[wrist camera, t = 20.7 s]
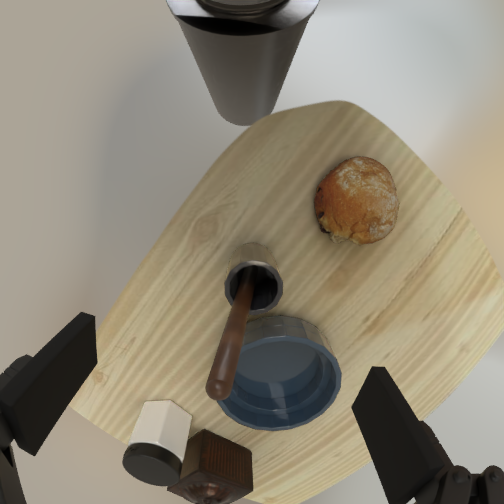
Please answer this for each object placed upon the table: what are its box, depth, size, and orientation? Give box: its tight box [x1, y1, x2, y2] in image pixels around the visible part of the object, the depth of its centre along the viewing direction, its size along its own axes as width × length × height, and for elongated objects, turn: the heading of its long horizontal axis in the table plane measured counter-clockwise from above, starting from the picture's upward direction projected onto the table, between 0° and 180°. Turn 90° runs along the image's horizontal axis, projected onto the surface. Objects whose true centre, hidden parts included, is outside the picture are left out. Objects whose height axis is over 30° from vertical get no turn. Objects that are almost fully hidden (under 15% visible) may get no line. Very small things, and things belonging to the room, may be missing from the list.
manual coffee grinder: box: [167, 429, 253, 504], centre depth 35 cm, size 16×11×18 cm
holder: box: [225, 243, 283, 315], centre depth 31 cm, size 5×6×8 cm
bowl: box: [217, 315, 342, 431], centre depth 36 cm, size 15×15×6 cm
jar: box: [123, 400, 192, 486], centre depth 35 cm, size 9×8×12 cm
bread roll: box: [314, 157, 400, 246], centre depth 32 cm, size 10×10×8 cm
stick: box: [206, 265, 258, 401], centre depth 25 cm, size 2×2×20 cm
